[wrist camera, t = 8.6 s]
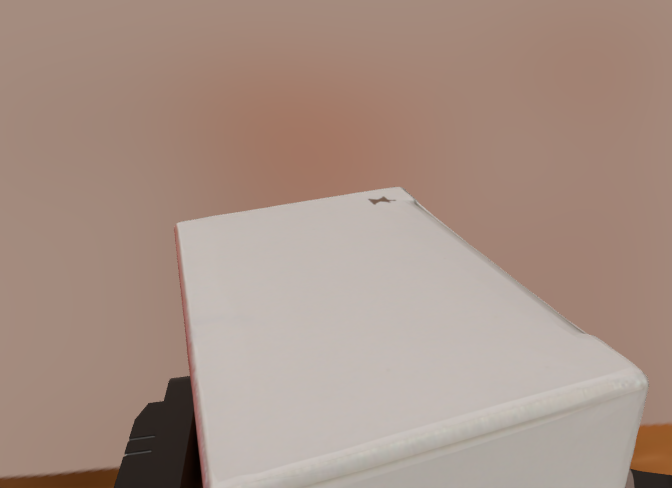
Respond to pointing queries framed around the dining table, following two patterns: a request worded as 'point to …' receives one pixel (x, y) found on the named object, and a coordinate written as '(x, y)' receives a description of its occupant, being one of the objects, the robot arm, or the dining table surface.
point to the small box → (388, 358)
